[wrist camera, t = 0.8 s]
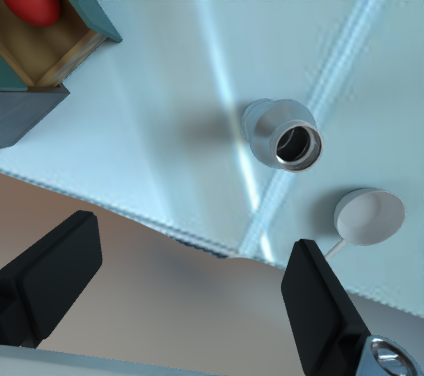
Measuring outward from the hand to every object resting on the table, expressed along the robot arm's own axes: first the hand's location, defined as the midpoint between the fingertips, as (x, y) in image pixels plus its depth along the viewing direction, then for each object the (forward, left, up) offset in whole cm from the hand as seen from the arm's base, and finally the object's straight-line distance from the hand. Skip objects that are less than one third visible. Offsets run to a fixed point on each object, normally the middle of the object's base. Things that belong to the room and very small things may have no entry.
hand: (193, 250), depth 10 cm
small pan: (+15, +25, -28) cm, 40 cm away
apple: (-17, -23, -26) cm, 39 cm away
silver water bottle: (-3, +7, -28) cm, 29 cm away
